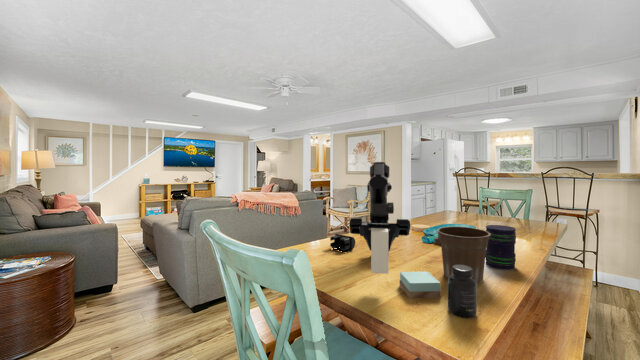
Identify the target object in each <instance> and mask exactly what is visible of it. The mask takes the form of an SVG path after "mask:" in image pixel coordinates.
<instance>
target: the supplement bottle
mask: <svg viewBox="0 0 640 360" xmlns="http://www.w3.org/2000/svg"><path fill="white" fill-rule="evenodd" d="M452 274H453V275H451V276H450V277H449V278H447V310H448V312H449V313H450V314H452V315H453V316H455V317H458V318H462V319H472V318H475V317H476V316H477V313H478V312H477V309H478V283H477V282H476V280H475V279H474V278H472V277H473V269H472V268H471V267H469V266H466V265H453V266H452Z"/></svg>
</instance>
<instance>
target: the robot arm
mask: <svg viewBox="0 0 640 360" xmlns="http://www.w3.org/2000/svg"><path fill="white" fill-rule="evenodd" d="M369 176H370V179H369V181H368V182H367V192H368V193H369V204H370V205H369V221H367V220H363V217H351V218H350V219H349V233H350V234H352V235H359V236H360V237H363V239H364V240H365V242H366V244H367V247H368V249H369V251H371V228H386V229H388V257H389V256H390V255H389V252H390V251H391V249H392V248H391V247H392V245H393V242H394V241H395V239H396V238H399V237H400V236H403V237H407V236H409V235H410V230H411V221H410V220H409V219H407V218H406V219H405V218H396V220H395V221H396V222H395V223H393V222H392V223H390V222H389V219H390V217H389V214H390V215H392V214H393V215H394V212H395V211H394V210H395V208H394V207H395V206H394V202H388V193H390V192H391V190H392V189H393V187H392V186H393V185H391V183H390V182H389V180H388V179H389V178H390V166H389V165H387V164H386V162H384V161H374V162H373V163H372V165H371V166H370V167H369Z"/></svg>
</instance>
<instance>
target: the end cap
mask: <svg viewBox="0 0 640 360" xmlns="http://www.w3.org/2000/svg"><path fill="white" fill-rule="evenodd" d="M329 240H330V241H332V242H330V245H329V247H330V248H333V249H334V248H337V249H335V250H339V251H342V252H341V253H343V252H347V253H349V252H348V251H350V252H352V251H353V250H354V249H355V247H356V239H355V237H354V236H351V235H345V234H339V233H335V234H334V235H333V236H330V239H329ZM339 247H340V248H339ZM335 250H334V251H335ZM351 250H352V251H351ZM339 251H338V252H339Z"/></svg>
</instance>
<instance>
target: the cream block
mask: <svg viewBox="0 0 640 360" xmlns="http://www.w3.org/2000/svg"><path fill="white" fill-rule="evenodd" d="M370 254H371V255H370V256H371V257H370V262H371V264H370V270H371V271H370V273H371V274H384V275H385V274H386V275H389V256H388V229H386V228H371V252H370Z"/></svg>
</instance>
